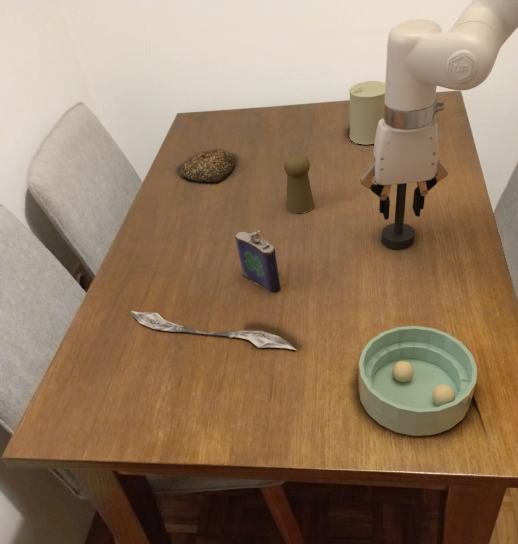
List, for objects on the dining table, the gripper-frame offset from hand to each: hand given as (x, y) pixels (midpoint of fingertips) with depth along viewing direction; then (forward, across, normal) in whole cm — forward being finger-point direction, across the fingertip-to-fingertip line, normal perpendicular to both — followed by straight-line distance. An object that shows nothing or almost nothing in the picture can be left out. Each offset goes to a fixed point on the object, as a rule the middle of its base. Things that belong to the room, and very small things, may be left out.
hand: (400, 213), depth 95 cm
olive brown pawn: (+6, +18, -16) cm, 25 cm away
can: (+6, 0, -44) cm, 44 cm away
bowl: (+6, +4, +36) cm, 37 cm away
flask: (+6, +26, +8) cm, 28 cm away
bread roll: (+7, +39, -36) cm, 53 cm away
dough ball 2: (+4, 0, +38) cm, 39 cm away
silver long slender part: (+6, +35, +20) cm, 41 cm away
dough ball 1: (+4, +5, +34) cm, 34 cm away
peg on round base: (+6, 0, 0) cm, 6 cm away
